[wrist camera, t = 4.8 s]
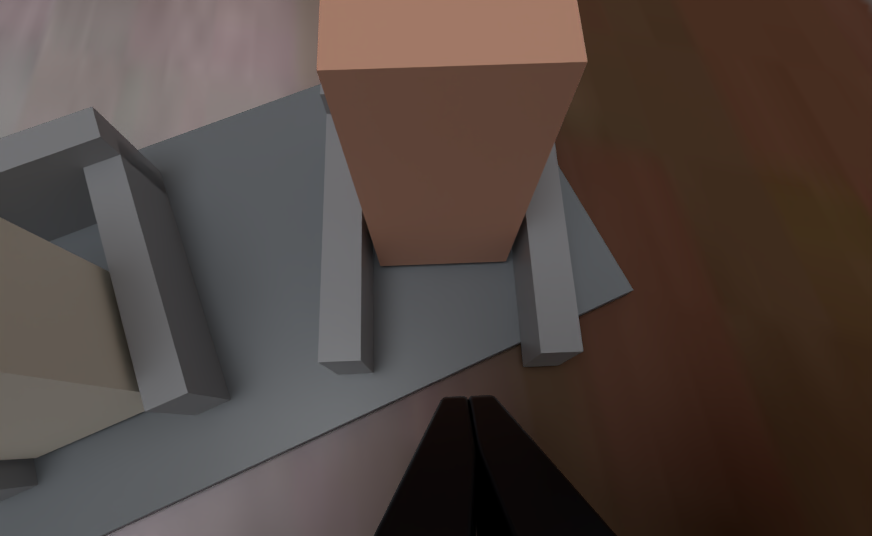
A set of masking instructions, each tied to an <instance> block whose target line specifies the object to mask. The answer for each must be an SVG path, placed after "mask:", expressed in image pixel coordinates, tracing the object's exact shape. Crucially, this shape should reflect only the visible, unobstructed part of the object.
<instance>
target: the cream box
mask: <svg viewBox="0 0 872 536" xmlns="http://www.w3.org/2000/svg"><path fill="white" fill-rule="evenodd" d="M144 411H145V410H144V407H143V403H142V399H141V395H140V391H139V387H138V383H137V379H136V375H135V371H134V367H133V363H132V359H131V355H130V351H129V347H128V343H127V339H126V335H125V332H124V328H123V324H122V320H121V316H120V312H119V308H118V304H117V300H116V296H115V292H114V288H113V284H112V280H111V276H110V272H109V271H107V270H105V269H103V268H101V267H99V266H97V265H95V264H93V263H91V262H89V261H87V260H85V259H83V258H81V257H79V256H77V255H75V254H73V253H71V252H69V251H67V250H65V249H63V248H61V247H59V246H57V245H55V244H53V243H51V242H49V241H47V240H45V239H43V238H41V237H39V236H37V235H35V234H33V233H31V232H29V231H27V230H25V229H23V228H21V227H19V226H17V225H15V224H13V223H11V222H9V221H7V220H5V219H3V218H1V217H0V460H12V459H29V458H38V457H40V456H42V455H45V454H47V453H49V452H51V451H54V450H56V449H58V448H61V447H63V446H65V445H68V444H70V443H72V442H75V441H77V440H79V439H81V438H84V437H86V436H88V435H91V434H93V433H95V432H98V431H100V430H102V429H105V428H107V427H109V426H111V425H114V424H116V423H118V422H121V421H123V420H125V419H128V418H130V417H132V416H135V415H137V414H139V413H141V412H144Z"/></svg>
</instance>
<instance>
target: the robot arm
mask: <svg viewBox="0 0 872 536" xmlns="http://www.w3.org/2000/svg"><path fill="white" fill-rule="evenodd" d="M374 536H617V535H616V534H615V533H614V532H613V531H612V530H611V529H610V527H609V526H608V525H607V524H606V523H605V522H604V521H603V519H602V518H601V517H600V516H599V515H598V514H597V513H596V511H595V510H594V509H593V508H592V507H591V506H590V505H589V504H588V502H587V501H586V500H585V499H584V498H583V497H582V496H581V494H580V493H579V492H578V491H577V490H576V489H575V488H574V486H573V485H572V484H571V483H570V482H569V481H568V480H567V478H566V477H565V476H564V475H563V474H562V473H561V472H560V471H559V469H558V468H557V467H556V466H555V465H554V464H553V463H552V461H551V460H550V459H549V458H548V457H547V456H546V455H545V453H544V452H543V451H542V450H541V449H540V448H539V447H538V445H537V444H536V443H535V442H534V441H533V440H532V439H531V438H530V436H529V435H528V434H527V433H526V432H525V431H524V430H523V428H522V427H521V426H520V425H519V424H518V423H517V422H516V420H515V419H514V418H513V417H512V416H511V415H510V414H509V412H508V411H507V410H506V409H505V408H504V407H503V406H502V405H501V403H500V402H499V401H498V400H497V399H496V398H495V397H494V396H492V395H483V396H471V397H470V398H469V399H467V398H466V397H464V396H459V397H444V398H443V399H442V400H441V401H440V403H439V405H438V407H437V409H436V411H435V413H434V415H433V417H432V419H431V421H430V423H429V425H428V428H427V430H426V432H425V434H424V436H423V438H422V440H421V442H420V444H419V446H418V448H417V450H416V452H415V454H414V456H413V458H412V460H411V462H410V464H409V466H408V468H407V470H406V472H405V474H404V476H403V478H402V480H401V482H400V484H399V486H398V488H397V490H396V492H395V494H394V496H393V498H392V500H391V502H390V504H389V506H388V508H387V510H386V512H385V514H384V516H383V518H382V520H381V522H380V524H379V526H378V528H377V530H376V532H375V534H374Z"/></svg>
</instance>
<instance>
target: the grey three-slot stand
mask: <svg viewBox="0 0 872 536" xmlns="http://www.w3.org/2000/svg"><path fill="white" fill-rule="evenodd" d="M0 217H1V218H3V219H5V220H7V221H9V222H11V223H13V224H15V225H17V226H19V227H21V228H23V229H25V230H27V231H29V232H31V233H33V234H35V235H37V236H39V237H41V238H43V239H45V240H47V241H49V242H51V243H53V244H55V245H57V246H59V247H61V248H63V249H65V250H67V251H69V252H71V253H73V254H75V255H77V256H79V257H81V258H83V259H85V260H87V261H89V262H91V263H93V264H95V265H97V266H99V267H101V268H103V269H105V270H107V271H109V272H110V276H111V280H112V284H113V288H114V292H115V296H116V300H117V304H118V308H119V312H120V316H121V320H122V324H123V328H124V332H125V335H126V339H127V343H128V347H129V351H130V355H131V359H132V363H133V367H134V371H135V375H136V379H137V383H138V387H139V391H140V395H141V399H142V403H143V407H144V410H145V411H144V412H141V413H139V414H137V415H135V416H132V417H130V418H128V419H125V420H123V421H121V422H118V423H116V424H114V425H111V426H109V427H107V428H105V429H102V430H100V431H98V432H95V433H93V434H91V435H88V436H86V437H84V438H81V439H79V440H77V441H75V442H72V443H70V444H68V445H65V446H63V447H61V448H58V449H56V450H54V451H51V452H49V453H47V454H45V455H42V456H40V457H38V458H29V459H12V460H0V536H106V535H108V534H110V533H112V532H114V531H116V530H118V529H121V528H123V527H125V526H127V525H129V524H131V523H134V522H136V521H138V520H140V519H142V518H144V517H147V516H149V515H151V514H153V513H155V512H157V511H160V510H162V509H164V508H166V507H168V506H170V505H173V504H175V503H177V502H179V501H181V500H183V499H186V498H188V497H190V496H192V495H194V494H196V493H199V492H201V491H203V490H205V489H207V488H209V487H211V486H214V485H216V484H218V483H220V482H222V481H224V480H227V479H229V478H231V477H233V476H235V475H237V474H240V473H242V472H244V471H246V470H248V469H250V468H253V467H255V466H257V465H259V464H261V463H263V462H266V461H268V460H270V459H272V458H274V457H276V456H279V455H281V454H283V453H285V452H287V451H289V450H292V449H294V448H296V447H298V446H300V445H302V444H305V443H307V442H309V441H311V440H313V439H315V438H317V437H320V436H322V435H324V434H326V433H328V432H330V431H333V430H335V429H337V428H339V427H341V426H343V425H346V424H348V423H350V422H352V421H354V420H356V419H359V418H361V417H363V416H365V415H367V414H369V413H372V412H374V411H376V410H378V409H380V408H382V407H385V406H387V405H389V404H391V403H393V402H395V401H398V400H400V399H402V398H404V397H406V396H408V395H410V394H413V393H415V392H417V391H419V390H421V389H423V388H426V387H428V386H430V385H432V384H434V383H436V382H439V381H441V380H443V379H445V378H447V377H449V376H452V375H454V374H456V373H458V372H460V371H462V370H465V369H467V368H469V367H471V366H473V365H475V364H478V363H480V362H482V361H484V360H486V359H488V358H491V357H493V356H495V355H497V354H499V353H501V352H504V351H506V350H508V349H510V348H512V347H514V346H516V345H519V344H521V350H522V360H523V367H534V366H558V365H560V364H562V363H564V362H565V361H567V360H569V359H571V358H572V357H574V356H576V355H578V354H580V353H581V352H583V346H582V339H581V331H580V324H579V316H581V315H584V314H586V313H588V312H590V311H592V310H594V309H597V308H599V307H601V306H603V305H605V304H607V303H609V302H612V301H614V300H616V299H618V298H620V297H622V296H625V295H627V294H628V293H630V292H631V291H632V290H633V289H632V287H631V285H630V284H629V282H628V280H627V279H626V277H625V275H624V274H623V272H622V271H621V269H620V267H619V266H618V264H617V262H616V261H615V259H614V257H613V256H612V254H611V252H610V251H609V249H608V247H607V246H606V244H605V242H604V241H603V239H602V237H601V236H600V234H599V232H598V231H597V229H596V227H595V226H594V224H593V222H592V221H591V219H590V217H589V216H588V214H587V213H586V211H585V209H584V208H583V206H582V204H581V203H580V201H579V199H578V198H577V196H576V194H575V193H574V191H573V189H572V188H571V186H570V184H569V183H568V181H567V179H566V178H565V176H564V174H563V173H562V171H561V169H560V168H559V166H558V163H557V155H556V148H555V142H554V145H553V147H552V150H551V152H550V155H549V157H548V160H547V162H546V165H545V167H544V169H543V172H542V174H541V177H540V179H539V182H538V184H537V187H536V189H535V191H534V194H533V196H532V199H531V201H530V204H529V206H528V209H527V211H526V213H525V216H524V218H523V221H522V223H521V226H520V228H519V231H518V233H517V236H516V238H515V240H514V243H513V245H512V248H511V250H510V253H509V255H508V258H507V260H506V261H504V262H478V263H451V264H425V265H399V266H380V263H379V260H378V257H377V254H376V251H375V248H374V245H373V242H372V239H371V236H370V233H369V230H368V226H367V223H366V220H365V217H364V214H363V211H362V208H361V205H360V202H359V199H358V196H357V193H356V190H355V187H354V183H353V180H352V177H351V174H350V171H349V168H348V165H347V162H346V159H345V156H344V153H343V150H342V147H341V144H340V140H339V137H338V134H337V131H336V128H335V125H334V122H333V119H332V116H331V113H330V110H329V107H328V104H327V100H326V97H325V94H324V91H323V88H322V85H321V84H319V85H317V86H314V87H311V88H308V89H306V90H303V91H300V92H297V93H294V94H292V95H289V96H286V97H283V98H281V99H278V100H275V101H272V102H270V103H267V104H264V105H261V106H259V107H256V108H253V109H250V110H247V111H245V112H242V113H239V114H236V115H234V116H231V117H228V118H225V119H223V120H220V121H217V122H214V123H211V124H209V125H206V126H203V127H200V128H198V129H195V130H192V131H189V132H187V133H184V134H181V135H178V136H175V137H173V138H170V139H167V140H164V141H162V142H159V143H156V144H153V145H151V146H148V147H145V148H142V149H139V150H137V149H136V148H135V147H134V146H133V145H132V144H131V143H130V142H129V141H128V140H127V139H126V138H124V137H123V136H122V135H121V134H120V133H119V132H118V131H117V130H116V129H115V128H114V127H113V126H112V125H111V124H110V123H109V122H108V121H107V120H106V119H105V118H104V117H103V116H101V115H100V114H99V113H98V112H97V111H96V110H95V109H94V108H93V107H90V108H87V109H84V110H81V111H78V112H75V113H72V114H69V115H67V116H64V117H61V118H58V119H55V120H52V121H49V122H46V123H43V124H40V125H38V126H35V127H32V128H29V129H26V130H23V131H20V132H17V133H14V134H11V135H9V136H6V137H3V138H0Z"/></svg>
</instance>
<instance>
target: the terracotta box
mask: <svg viewBox="0 0 872 536" xmlns="http://www.w3.org/2000/svg"><path fill="white" fill-rule="evenodd" d="M586 64H587V56H586V50H585V44H584V38H583V33H582V27H581V21H580V15H579V9H578V3H577V0H320V8H319V31H318V53H317V73H318V76H319V79H320V82H321V85H322V88H323V91H324V94H325V97H326V100H327V104H328V107H329V110H330V113H331V116H332V119H333V122H334V125H335V128H336V131H337V134H338V137H339V140H340V144H341V147H342V150H343V153H344V156H345V159H346V162H347V165H348V168H349V171H350V174H351V177H352V180H353V183H354V187H355V190H356V193H357V196H358V199H359V202H360V205H361V208H362V211H363V214H364V217H365V220H366V223H367V226H368V230H369V233H370V236H371V239H372V242H373V245H374V248H375V251H376V254H377V257H378V260H379V263H380V266H399V265H425V264H451V263H478V262H504V261H506V260H507V258H508V255H509V253H510V250H511V248H512V245H513V243H514V240H515V238H516V236H517V233H518V231H519V228H520V226H521V223H522V221H523V218H524V216H525V213H526V211H527V209H528V206H529V204H530V201H531V199H532V196H533V194H534V191H535V189H536V187H537V184H538V182H539V179H540V177H541V174H542V172H543V169H544V167H545V165H546V162H547V160H548V157H549V155H550V152H551V150H552V147H553V145H554V142H555V140H556V138H557V135H558V133H559V130H560V128H561V125H562V123H563V120H564V118H565V116H566V113H567V111H568V108H569V106H570V103H571V101H572V98H573V96H574V94H575V91H576V89H577V86H578V84H579V81H580V79H581V76H582V74H583V72H584V69H585V67H586Z"/></svg>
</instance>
